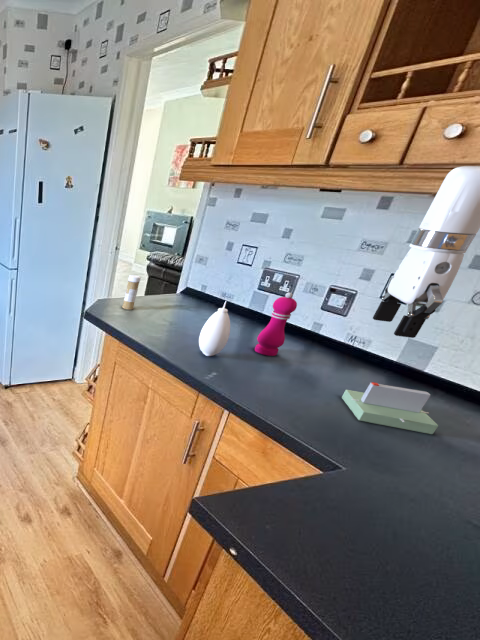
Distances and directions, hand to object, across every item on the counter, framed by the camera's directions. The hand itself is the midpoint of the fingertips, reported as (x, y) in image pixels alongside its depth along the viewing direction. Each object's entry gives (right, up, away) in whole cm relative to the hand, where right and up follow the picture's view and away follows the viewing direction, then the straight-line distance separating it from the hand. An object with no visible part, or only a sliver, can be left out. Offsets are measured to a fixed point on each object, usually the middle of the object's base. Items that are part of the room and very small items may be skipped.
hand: (392, 328), depth 85 cm
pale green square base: (+17, -19, +18) cm, 32 cm away
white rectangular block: (+17, -17, +17) cm, 30 cm away
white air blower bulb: (-10, -2, +48) cm, 49 cm away
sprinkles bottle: (-20, +20, +88) cm, 92 cm away
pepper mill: (+11, -1, +51) cm, 52 cm away
